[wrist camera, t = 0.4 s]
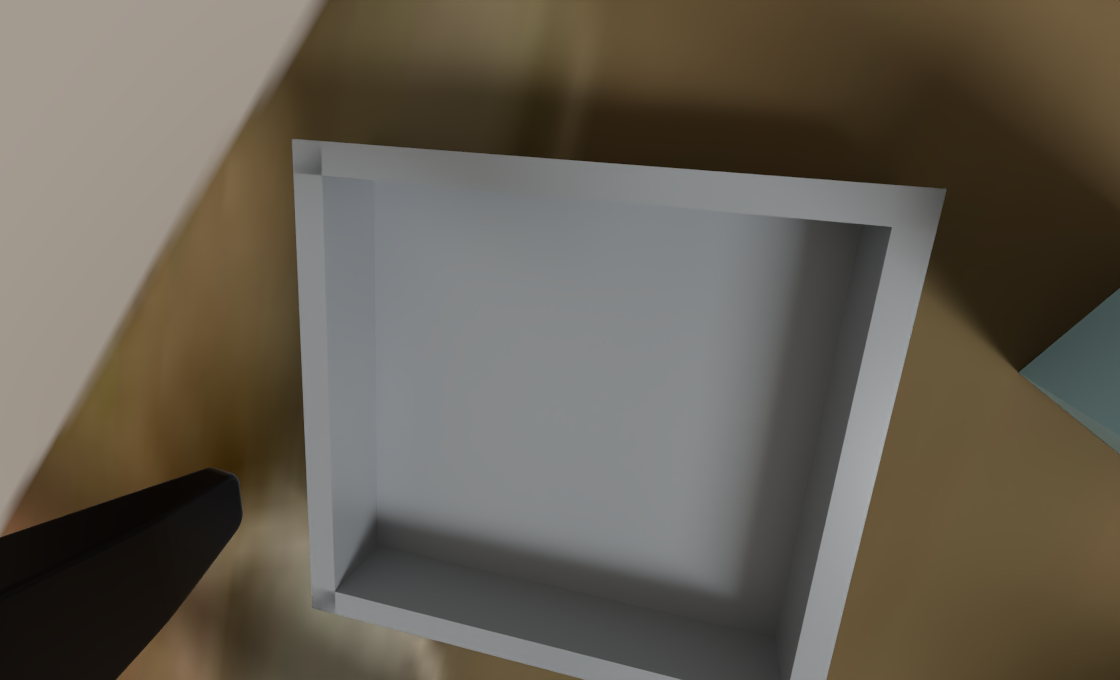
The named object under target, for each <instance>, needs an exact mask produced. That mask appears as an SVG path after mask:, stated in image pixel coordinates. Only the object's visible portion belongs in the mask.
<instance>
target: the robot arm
mask: <svg viewBox="0 0 1120 680" xmlns="http://www.w3.org/2000/svg"><path fill="white" fill-rule="evenodd" d="M242 516H243V511H242V502H241V492H240V483H239V479H238V477H237V476H236V475H235V474H233V473H230V472H227V471H224V470H221V469H218V468H213V467H210V468H206V469H202V470H199V471H196V472H193V473H190V474H187V475H184V476H181V477H178V478H175V479H172V480H169V481H167V482H164V483H161V484H158V485H155V486H152V487H149V488H146V489H143V490H140V491H137V492H134V493H131V494H128V495H125V496H122V497H119V498H116V499H113V500H110V501H107V502H104V503H101V504H98V505H95V506H92V507H89V508H86V509H83V510H80V511H77V512H74V513H71V514H68V515H65V516H63V517H60V518H57V519H54V520H51V521H48V522H45V523H42V524H39V525H36V526H33V527H30V528H27V529H24V530H21V531H18V532H15V533H12V534H9V535H6V536H3V537H0V680H116V679H117V678H118V677H119V676H120V675H121V673H122V672H123V671H124V670H125V669H126V668H127V667H128V666H129V665H130V663H131V662H132V661H133V660H134V659H135V658H136V657H137V656H138V655H139V653H140V652H141V651H142V650H143V649H144V648H145V647H146V646H147V645H148V643H149V642H150V641H151V640H152V639H153V638H154V637H155V636H156V635H157V633H158V632H159V631H160V630H161V629H162V628H163V626H164V625H165V624H166V623H167V622H168V621H169V619H170V618H171V617H172V616H173V614H174V613H175V612H176V611H177V609H178V608H179V607H180V606H181V604H182V603H183V602H184V600H185V599H186V598H187V596H188V595H189V594H190V592H191V591H192V590H193V588H194V587H195V586H196V584H197V583H198V582H199V580H200V579H201V578H202V576H203V575H204V574H205V572H206V571H207V570H208V568H209V567H210V566H211V564H212V563H213V562H214V560H215V559H216V558H217V556H218V555H219V554H220V552H221V551H222V550H223V548H224V547H225V546H226V544H227V543H228V542H229V540H230V539H231V538H232V536H233V535H234V534H235V532H236V531H237V529H238V527H239V526H240V523H241V520H242Z"/></svg>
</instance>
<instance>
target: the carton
mask: <svg viewBox="0 0 1120 680" xmlns="http://www.w3.org/2000/svg"><path fill="white" fill-rule="evenodd" d="M1018 373H1019V374H1021V375H1022V376H1023V377H1024V378H1026V379H1027V380H1028V381H1029V382H1031V383H1032V384H1033V385H1034V386H1036V387H1037V388H1038V389H1039V390H1041V391H1042V392H1043V393H1044V394H1045V395H1047V396H1048V397H1049V398H1050V399H1052V400H1053V401H1054V402H1055V403H1057V404H1058V405H1059V406H1060V407H1062V408H1063V409H1064V410H1065V411H1067V412H1068V413H1069V414H1070V415H1071V416H1073V417H1074V418H1075V419H1076V420H1078V421H1079V422H1080V423H1081V424H1083V425H1084V426H1085V427H1086V428H1088V429H1089V430H1090V431H1091V432H1093V433H1094V434H1095V435H1096V436H1097V437H1099V438H1100V439H1101V440H1102V441H1104V442H1105V443H1106V444H1107V445H1109V446H1110V447H1111V448H1112V449H1114V450H1115V451H1116V452H1117V453H1119V454H1120V288H1119V289H1118V290H1117V291H1115V292H1114V293H1113V294H1112V295H1111V296H1109V297H1108V298H1107V299H1106V300H1105V301H1103V302H1102V303H1101V304H1100V305H1099V306H1097V307H1096V308H1095V309H1094V310H1093V311H1092V312H1090V313H1089V314H1088V315H1087V316H1086V317H1084V318H1083V319H1082V320H1081V321H1080V322H1078V323H1077V324H1076V325H1075V326H1074V327H1072V328H1071V329H1070V330H1069V331H1068V332H1066V333H1065V334H1064V335H1063V336H1062V337H1060V338H1059V339H1058V340H1057V341H1056V342H1054V343H1053V344H1052V345H1051V346H1050V347H1048V348H1047V349H1046V350H1045V351H1044V352H1042V353H1041V354H1040V355H1039V356H1038V357H1036V358H1035V359H1034V360H1033V361H1032V362H1030V363H1029V364H1028V365H1027V366H1026V367H1024V368H1023V369H1022V370H1021V371H1020V372H1018Z"/></svg>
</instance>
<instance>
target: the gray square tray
mask: <svg viewBox="0 0 1120 680" xmlns="http://www.w3.org/2000/svg"><path fill="white" fill-rule="evenodd" d="M292 153H293V176H294V200H295V223H296V246H297V269H298V292H299V315H300V338H301V361H302V384H303V407H304V430H305V453H306V476H307V499H308V522H309V545H310V569H311V592H312V608H314V609H318V610H322V611H326V612H329V613H333V614H337V615H341V616H345V617H348V618H352V619H356V620H360V621H364V622H368V623H371V624H375V625H379V626H383V627H387V628H390V629H394V630H398V631H402V632H406V633H409V634H413V635H417V636H421V637H425V638H429V639H432V640H436V641H440V642H444V643H448V644H451V645H455V646H459V647H463V648H467V649H471V650H474V651H478V652H482V653H486V654H490V655H493V656H497V657H501V658H505V659H509V660H512V661H516V662H520V663H524V664H528V665H532V666H535V667H539V668H543V669H547V670H551V671H554V672H558V673H562V674H566V675H570V676H573V677H577V678H581V679H585V680H826V678H827V674H828V670H829V666H830V662H831V658H832V654H833V650H834V646H835V642H836V638H837V634H838V630H839V626H840V621H841V617H842V613H843V609H844V605H845V601H846V597H847V593H848V589H849V585H850V581H851V577H852V573H853V569H854V564H855V560H856V556H857V552H858V548H859V544H860V540H861V536H862V532H863V528H864V524H865V520H866V516H867V512H868V507H869V503H870V499H871V495H872V491H873V487H874V483H875V479H876V475H877V471H878V467H879V463H880V459H881V455H882V451H883V446H884V442H885V438H886V434H887V430H888V426H889V422H890V418H891V414H892V410H893V406H894V402H895V398H896V394H897V389H898V385H899V381H900V377H901V373H902V369H903V365H904V361H905V357H906V353H907V349H908V345H909V341H910V337H911V332H912V328H913V324H914V320H915V316H916V312H917V308H918V304H919V300H920V296H921V292H922V288H923V284H924V280H925V275H926V271H927V267H928V263H929V259H930V255H931V251H932V247H933V243H934V239H935V235H936V231H937V227H938V223H939V218H940V214H941V210H942V206H943V202H944V198H945V194H946V190H947V189H940V188H927V187H914V186H901V185H888V184H875V183H862V182H849V181H836V180H823V179H810V178H797V177H784V176H771V175H758V174H744V173H731V172H718V171H705V170H692V169H679V168H666V167H653V166H640V165H627V164H614V163H601V162H588V161H575V160H562V159H549V158H536V157H523V156H509V155H496V154H483V153H470V152H457V151H444V150H431V149H418V148H405V147H392V146H379V145H366V144H353V143H340V142H327V141H314V140H301V139H292Z"/></svg>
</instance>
